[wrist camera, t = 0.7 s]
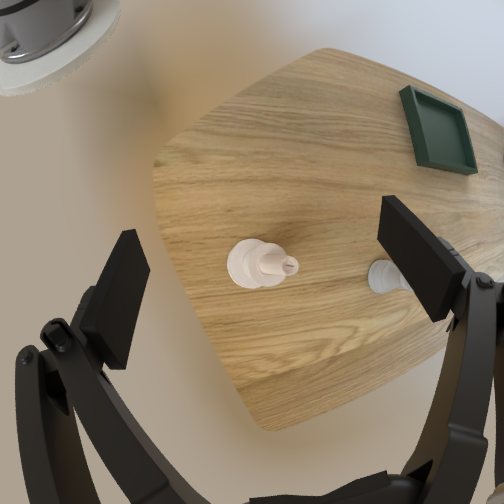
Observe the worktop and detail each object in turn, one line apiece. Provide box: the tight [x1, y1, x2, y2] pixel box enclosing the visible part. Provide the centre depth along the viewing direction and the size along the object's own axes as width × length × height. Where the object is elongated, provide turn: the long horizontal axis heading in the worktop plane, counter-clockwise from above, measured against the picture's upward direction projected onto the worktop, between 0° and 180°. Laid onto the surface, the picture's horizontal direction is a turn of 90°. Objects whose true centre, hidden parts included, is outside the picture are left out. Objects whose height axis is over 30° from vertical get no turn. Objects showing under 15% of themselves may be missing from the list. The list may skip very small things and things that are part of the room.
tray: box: [399, 85, 478, 175], centre depth 41 cm, size 18×14×3 cm
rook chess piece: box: [368, 260, 414, 294], centre depth 33 cm, size 4×4×8 cm
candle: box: [227, 239, 299, 289], centre depth 26 cm, size 5×5×10 cm
